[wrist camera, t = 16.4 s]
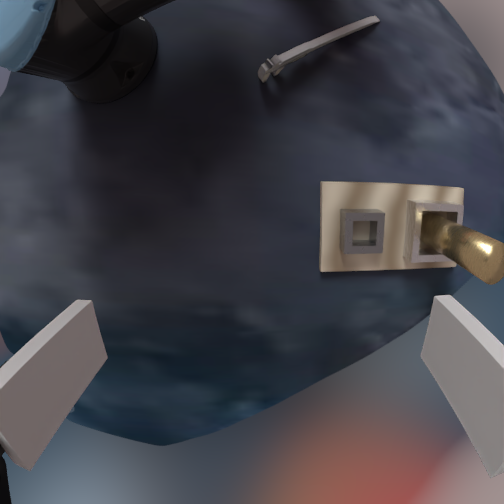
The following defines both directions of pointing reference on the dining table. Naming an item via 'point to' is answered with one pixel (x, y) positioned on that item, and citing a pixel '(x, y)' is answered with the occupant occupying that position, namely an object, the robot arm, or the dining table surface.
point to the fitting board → (382, 225)
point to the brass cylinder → (464, 247)
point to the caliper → (310, 48)
